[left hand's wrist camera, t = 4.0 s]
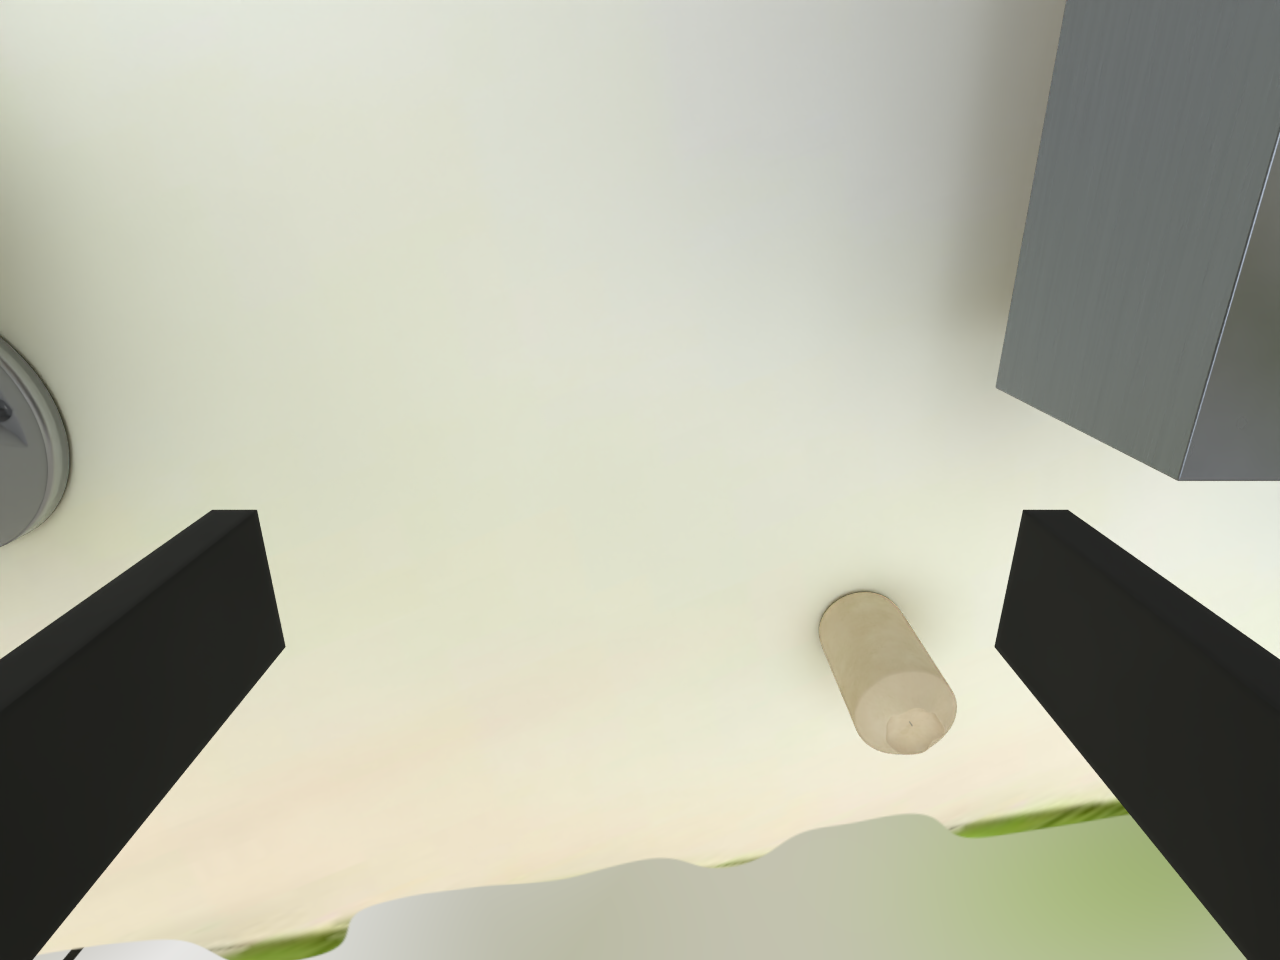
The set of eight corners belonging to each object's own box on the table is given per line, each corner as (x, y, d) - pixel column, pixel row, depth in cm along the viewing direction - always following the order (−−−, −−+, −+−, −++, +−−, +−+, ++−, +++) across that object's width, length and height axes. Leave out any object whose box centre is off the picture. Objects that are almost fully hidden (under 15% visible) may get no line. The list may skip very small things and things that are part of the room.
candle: (825, 587, 45) (873, 685, 36) (910, 593, 46) (980, 692, 36) (811, 659, 47) (853, 770, 38) (892, 665, 48) (954, 777, 38)
